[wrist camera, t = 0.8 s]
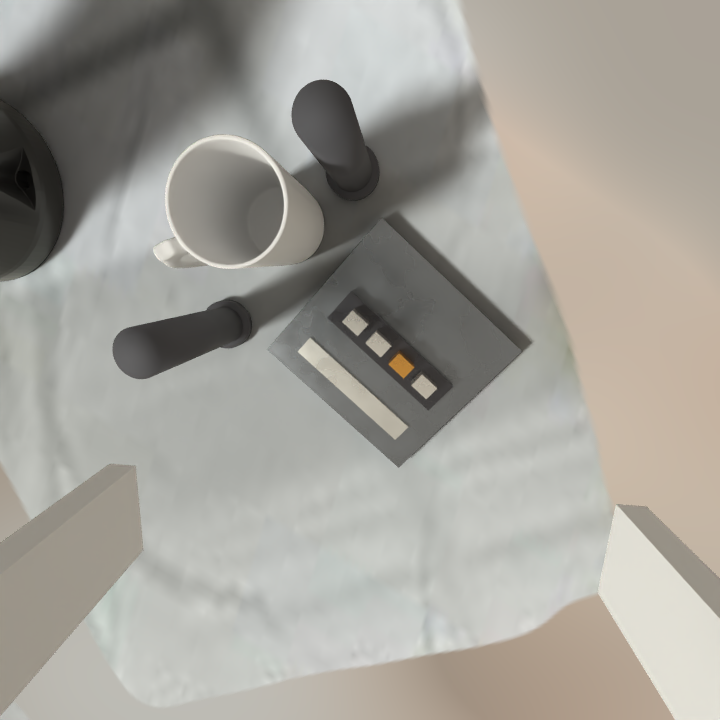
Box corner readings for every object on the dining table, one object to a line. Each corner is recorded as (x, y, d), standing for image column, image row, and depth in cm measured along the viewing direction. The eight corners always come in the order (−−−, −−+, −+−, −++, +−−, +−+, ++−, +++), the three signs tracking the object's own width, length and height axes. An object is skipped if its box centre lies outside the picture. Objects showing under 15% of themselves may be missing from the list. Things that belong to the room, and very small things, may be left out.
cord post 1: (197, 324, 36) (91, 354, 24) (225, 290, 36) (129, 302, 23) (232, 355, 37) (145, 401, 24) (261, 322, 36) (185, 351, 23)
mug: (302, 164, 33) (247, 107, 21) (343, 243, 34) (311, 230, 22) (198, 227, 35) (94, 207, 23) (239, 300, 36) (159, 317, 24)
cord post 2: (317, 175, 33) (264, 120, 20) (351, 133, 32) (318, 47, 20) (355, 211, 33) (326, 178, 21) (390, 170, 32) (381, 109, 20)
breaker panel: (271, 346, 36) (259, 354, 33) (382, 219, 33) (380, 214, 30) (398, 461, 37) (398, 479, 34) (518, 348, 34) (529, 356, 31)
